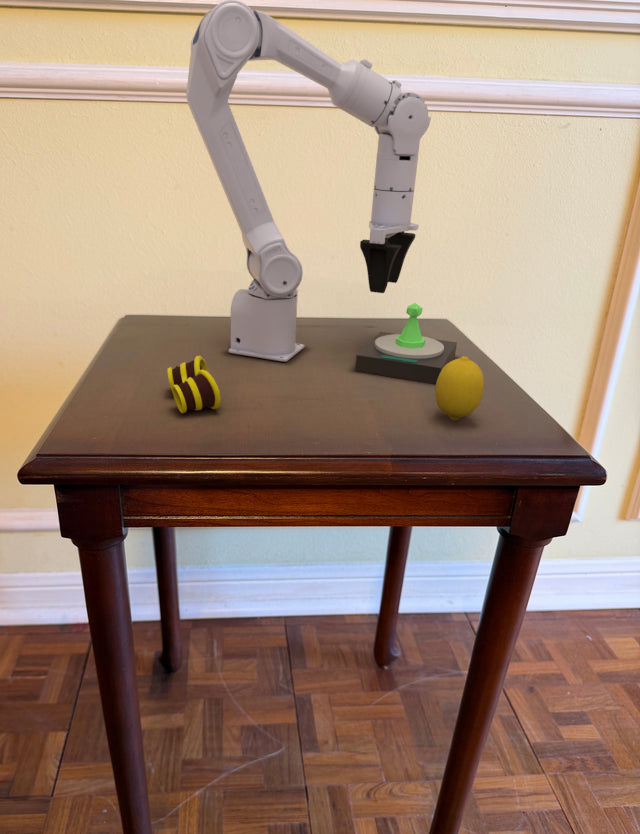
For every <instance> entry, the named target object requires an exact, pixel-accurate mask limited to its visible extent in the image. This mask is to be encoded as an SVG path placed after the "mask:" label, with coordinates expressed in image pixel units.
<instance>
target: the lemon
mask: <svg viewBox="0 0 640 834" xmlns="http://www.w3.org/2000/svg"><path fill="white" fill-rule="evenodd" d="M482 371H483V370H482V369H481V368H480V367H479V365H478V364H477V363H476V362H474V361H473V360H471V359H469V357H468V356H466V355H463V356H461V357H460V358H454V359H453V361H451V362H449V363H448V364H446V365H445V366H444V367H443V369H442V370H441V372H440V374H439V376H438V379H437V382H436V384H435V388H434V389H435V390H434V395H435V401H436V405H437V406H438V408H439V409H440V410H441V412H443V413H444V414H445V415H447V416H449V418H450V419H451V420H452V421H458V420H459V419H460V418H463V417H466V416H470V414H472V413H473V412H474V411H475V410H477V408H478V407H479V405H480V403H481V401H482V399H483V395H484V388H485V381H484V379H485V378H484V374H483V372H482Z"/></svg>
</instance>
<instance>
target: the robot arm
mask: <svg viewBox="0 0 640 834" xmlns="http://www.w3.org/2000/svg"><path fill="white" fill-rule="evenodd" d="M255 61H276V62H277V63H279V64H280V65H283V66H285V67H287V68H288V69H290V70H292V71H294V72H295V73H298V74H299V75H302V76H303V77H305V78H307V79H308V80H311V81H313V82H314V83H316V84H318V85H320V86H322V87H323V88H325V89H327V90H328V93H329V94H328V95H329V98H330V100H331V103H332V105H333V106H335V107H337V108H338V109H340V110H342V111H343V112H345V113H346V114H348V115H350V116H352V117H354V118H355V119H356V120H359V121H360V122H362V123H364V124H366V125H367V126H370V127H371V128H373V129H374V131H375V133H376V134H377V135H378V141H377V151H376V159H375V160H376V161H375V170H374V171H375V172H374V183H373V191H372V192H373V193H372V204H371V215H370V221H369V222H368V228H369V230H370V231H369V239H362V240H360V242H359V247H360V250H361V253H362V255H363V258H364V261H365V265H366V270H367V280H368V286H369V291H370V292H371V293H377V294H384V293H385V292H386V290H387V288H388V284H389V283H393V284H396V283H398V282H399V281H398V280H399V278H400V275H401V271H402V269H403V265H404V262H405V259H406V256H407V254H408V251H409V249H410V247H411V246H412V244H413V242H414V240H415V239H416V234H415V233H412V232H409V231H418V230H419V223H412V212H413V205H414V195H415V188H416V187H415V186H416V181H417V172H418V171H417V170H418V161H419V151H420V144H421V139H422V138H423V136H424V135H425V134H426V132H427V131H428V129H429V127H430V124H431V120H432V118H431V116H429V110H428V106H427V104H425V103H426V101H425V100H424V98H423V97H422V96H420V95H419V94H417V93H415V92H402V89H401V88H402V83H401V82H399V81H398V80H396V79H395V80H392V81H390V80H389V79H387V78H385V76H382V75H381V74H379V73H378V72H376V71H374V70H373V69H372V67H373V63H372V62H370V61H369V60H367V59H364V58H363V59H361V60H360V61H358V60H357V59H353V58H352V59H350V60H348V61H345V62H342V63H341V62H339V61H337V60H336V59H334V58H333V57H331V56H330V55H329V54H327V53H326V52H324V51H323V50H322V49H319V48H318V47H317V46H315V45H314V44H312V43H311V42H309V41H308V40H306V38H303V37H302V36H301V35H299V34H298V33H296V32H295V31H293V30H292V29H290V28H289V27H287V26H286V25H284V24H283V23H282V22H280V21H278V19H277V20H276V19H275V18H273V17H272V16H270V15H268V14H267V13H265V12H263V11H260V10H258V9H254V10H252V9H251V8H250V7H249V5H247V4H246V3H245V2H242V1H240V0H223V1H221V2H219V3H218V4H216V6H214V7H213V8H212V9H211V10H209V11H207V12H206V13H205V14H204V15H203V16H202V17H201V19H200V21H199V23H198V26H197V28H196V30H195V32H194V34H193V36H192V39H191V40H190V57H189V64H188V65H189V67H188V76H187V82H186V83H187V84H186V93H185V98H186V101H187V105H188V108H189V110H190V113H191V115H192V118H193V120H194V122H195V124H196V127H197V129H198V131H199V134H200V137H201V139H202V142H203V144H204V146H205V149H206V151H207V153H208V155H209V158H210V160H211V163H212V166H213V167H214V170H215V172H216V176H217V177H218V180H219V182H220V185H221V187H222V189H223V192H224V195H225V197H226V199H227V201H228V204H229V206H230V208H231V210H232V213H233V216H234V218H235V220H236V223H237V225H238V228H239V230H240V233H241V237H242V243H243V245H244V247H245V250H246V267H247V272H248V274H249V276H251V277H252V278H253V279H252V281H251V282H250V284H249V286H248V288H247V289H244V288H240V289H238V290H237V291H236V292H235V293H234V295H233V297H232V301H231V303H230V348H229V349H228V353H229V354H233V355H240V356H247V357H253V358H259V359H265V360H270V361H278V362H283V363H284V362H285V363H286V362H288V361H290V360H291V359H292V358H294V357H295V355H297V354H298V353H299V352H301V351H302V350H303V349H305V344H302V343H296V341H297V317H298V316H297V315H298V292H299V290H298V288H299V286H300V284H301V282H302V279H303V266H302V262H301V261H300V259H299V258H298V256H296V255H295V254H294V253H293V252H291V250H290V249H289V247H288V246H287V243H286V241H285V238H284V237H283V234H282V233H281V231H280V229H279V227H278V226H277V224H276V222H275V220H274V217H273V215H272V213H271V209H270V207H269V205H268V202H267V200H266V197H265V194H264V192H263V189H262V186H261V184H260V181H259V179H258V176H257V174H256V171H255V169H254V165H253V163H252V160H251V158H250V155H249V153H248V150H247V148H246V145H245V143H244V139H243V138H242V135H241V132H240V130H239V127H238V124H237V121H236V119H235V117H234V115H233V112H232V110H231V107H230V104H229V98H230V95H231V93H232V90H233V88H234V85H235V83H236V80H237V78H238V74H239V73H240V72H241V70H242V69H243V68H244V66H246V64H247V63H248V62H255Z"/></svg>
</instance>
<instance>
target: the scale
mask: <svg viewBox="0 0 640 834" xmlns="http://www.w3.org/2000/svg"><path fill="white" fill-rule="evenodd" d="M399 335H401V333H392V332H387V331H379V332H378V333H377V334H376V335H375V336H374V337H373V338H372V339H370V341H369V342H368V343H367V344H366V345H365V346H363V348H362V349H361V350H359V352H357V354H356V356H355V368H354V371H355V372H358V373H359V372H360V373H365V374H370V375H371V374H372V375H378V376H384V377H390V378H396V379H402V380H408V381H415V382H422V383H427V384H433V385H436V382H437V379H438V376H439V374H440V372H441V370H442V369H443V367H444V366H445V365H446V364H448V363H449V362H451V361H453V360H455V359H456V351H457V344H458V342H456V341H451V340H444V339H443V340H442V339H435V338H431V337H429V336H423V335H421V336H422V338H424V339H425V345H424V346H423V347H422V348H406V347H401V346H399V345H397V344H395V343H396V338H397V337H398V336H399Z"/></svg>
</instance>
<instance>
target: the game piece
mask: <svg viewBox="0 0 640 834" xmlns="http://www.w3.org/2000/svg"><path fill="white" fill-rule="evenodd" d="M422 312H423V307H422V306H420V305H419V304H417V302H414V303H412V304H410V305H408V306H407V307H406V314H407V315H408V316H409V318H408V319H407V322H406V323H405V325H404V327H403V329H402V331H401V332H400V334H401V335H399V336H398V337H397V338H396V343H395V344H397V345H399V346H401V347H406V348H422V347H423V346H424V345H425V339H424V338H422V336H423V335H422V333H421V328H420V325H419V320H418V317H420V316H421V315H422Z"/></svg>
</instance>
